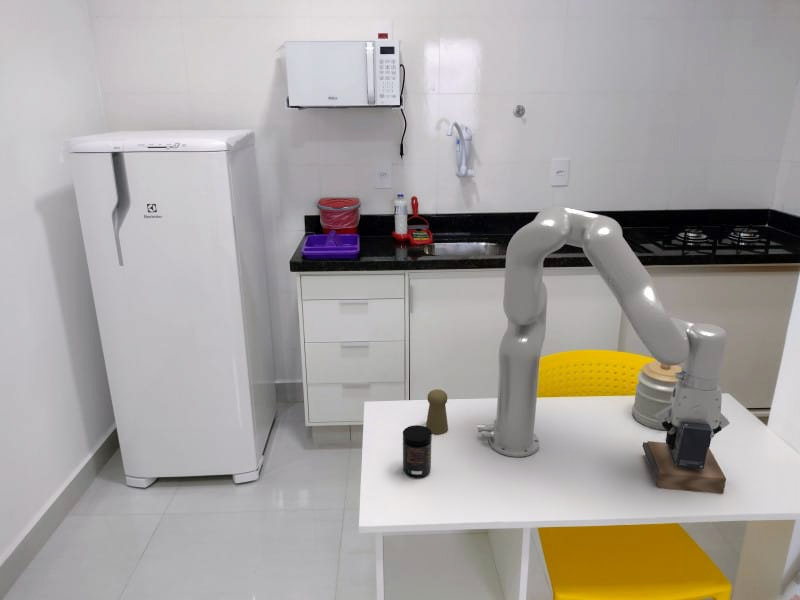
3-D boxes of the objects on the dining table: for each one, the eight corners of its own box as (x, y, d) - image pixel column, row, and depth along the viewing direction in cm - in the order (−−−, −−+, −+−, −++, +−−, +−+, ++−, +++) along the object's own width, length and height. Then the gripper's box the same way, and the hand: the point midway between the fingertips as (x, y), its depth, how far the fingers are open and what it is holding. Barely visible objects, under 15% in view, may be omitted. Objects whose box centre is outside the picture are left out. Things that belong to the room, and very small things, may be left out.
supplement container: (429, 461, 151) (430, 424, 148) (432, 479, 145) (433, 440, 141) (401, 463, 151) (401, 425, 147) (403, 480, 145) (403, 441, 141)
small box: (705, 470, 140) (714, 430, 136) (675, 467, 141) (682, 427, 137) (694, 444, 149) (702, 405, 146) (665, 441, 151) (672, 403, 147)
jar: (678, 409, 175) (688, 351, 168) (687, 434, 163) (698, 373, 157) (629, 403, 177) (637, 347, 171) (634, 427, 166) (643, 368, 159)
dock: (653, 487, 142) (655, 472, 141) (641, 454, 154) (643, 440, 153) (723, 493, 140) (726, 478, 138) (705, 459, 152) (708, 445, 151)
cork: (452, 426, 166) (453, 390, 162) (441, 437, 161) (442, 400, 157) (432, 420, 169) (433, 384, 165) (421, 430, 164) (421, 393, 160)
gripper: (662, 384, 136) (651, 454, 142) (747, 389, 134) (731, 460, 140) (654, 368, 143) (644, 436, 149) (735, 373, 140) (720, 442, 147)
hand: (686, 447), depth 144 cm, fingers closed on small box, 6 cm apart
